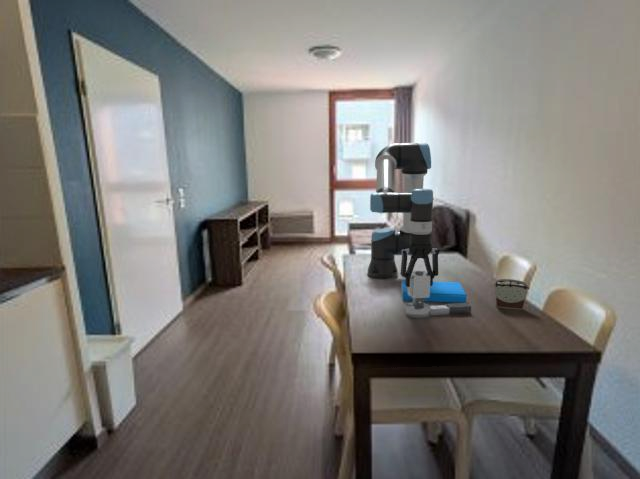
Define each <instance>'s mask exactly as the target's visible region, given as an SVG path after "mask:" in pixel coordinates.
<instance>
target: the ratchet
mask: <svg viewBox="0 0 640 479" xmlns="http://www.w3.org/2000/svg"><path fill="white" fill-rule="evenodd" d="M471 312H472V306H471V304H468V303H467V302H466V303H454V302H452V303H445V304H443V305H430V304H428V303H425V301H424V298H413V301H411V302H408V303H406V304H405V315H406V316H407V317H409V318H411V319H414V320H415V319H418V320H425V319H428V318H430V317H431V316H441V315H442V316H445V315H451V316H452V315H465V314H466V315H467V314H468V315H469V314H472V313H471Z"/></svg>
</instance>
